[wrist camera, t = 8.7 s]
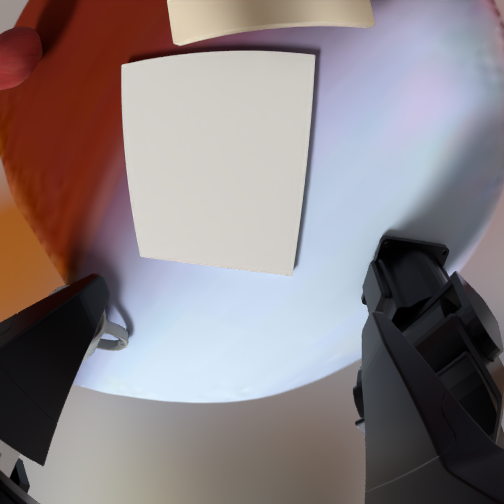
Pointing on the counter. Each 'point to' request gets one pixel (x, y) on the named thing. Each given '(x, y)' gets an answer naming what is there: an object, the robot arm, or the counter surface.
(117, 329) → the ceramic mug
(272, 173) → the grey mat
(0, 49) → the onion
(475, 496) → the robot arm
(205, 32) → the beige stepped block
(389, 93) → the counter surface
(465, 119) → the counter surface
